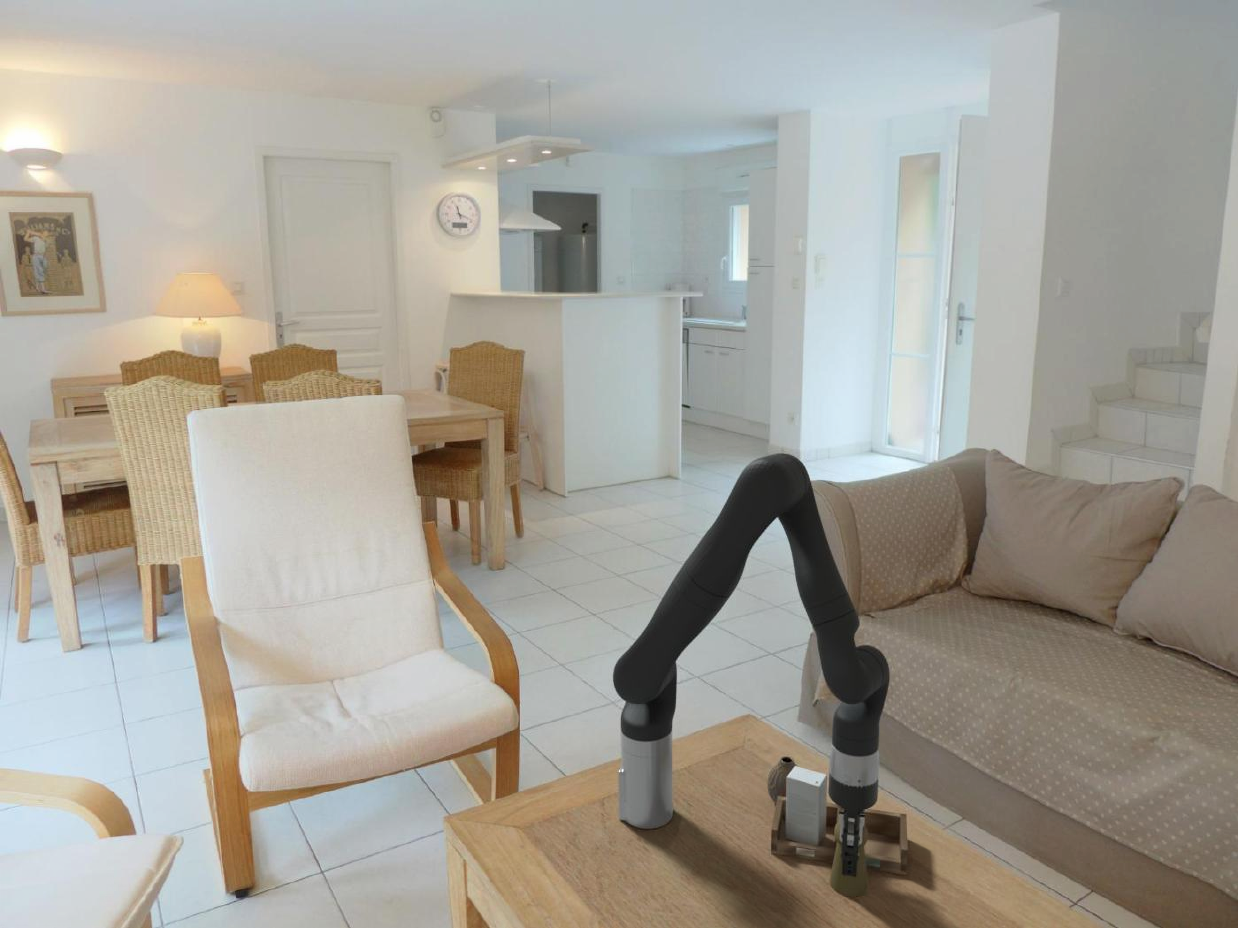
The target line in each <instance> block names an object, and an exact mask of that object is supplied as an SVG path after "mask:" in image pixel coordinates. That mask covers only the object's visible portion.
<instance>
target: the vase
mask: <svg viewBox="0 0 1238 928" xmlns="http://www.w3.org/2000/svg"><path fill="white" fill-rule="evenodd" d="M795 766H797V767H799V766H798V765H797V764H796V762H795V760H794V758H792V757H791V756H786V755H785V756H781V757H780V759H779V761H778V762H777V763H776V764H775V765H774V766H773V767H772V768H771V770H770V771H769V774H768V777H767V793H768V795H769V797H770V799H771V801H772V802H774V804H775V805H776V803H777V798H778V796H782V797H786V777H787V776H788V775H789V773H790V772H791V771H792V769H793V768H794V767H795Z"/></svg>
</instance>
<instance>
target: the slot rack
mask: <svg viewBox="0 0 1238 928" xmlns="http://www.w3.org/2000/svg"><path fill="white" fill-rule="evenodd" d="M839 809H840V806H839V805H837V804H836V803H831V802H830V803H829V802H827V806H826V836H825V838H824V840H823V841H822V843H821V844H820V846H815V845H808V844H802V843H798V842H795V841H792V840H789V839H786V797H782V796H778V798H777V803H776V804H775V810H774V813H773V818H772V819H773V820H772V823H771V824H772V825H771V829H770V830H771V831H770V833H771V835H770V836H771V838H770V854H774V855H779V856H780V855H781V856H786V857H792V858H799V859H805V860H812V861H815V862H816V861H817V862H822V863H823V862H824V863H829V864H833V861H834V856H835V851H836V846H837V841H836V838H835V835H834V830H835V825H836V824H837V823H838V821H839ZM907 818H908V817H907V813H900V812H893V811H887V810H879V809H872V808H868V809H865V822H864V825H865V826H866V828H867V831H868V840H867V842H866V844H865V845H864V850H865V860H866V870H873V871H879V872H886V873H892V874H898V875H904V876H907V870H908V869H907V868H908V855H909V854H908V853H909V846H908V845H909V844H908V843H909V842H908V841H909V840H908V823H907V822H908V821H907V820H908V819H907Z"/></svg>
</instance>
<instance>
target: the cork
mask: <svg viewBox="0 0 1238 928" xmlns="http://www.w3.org/2000/svg"><path fill="white" fill-rule="evenodd" d="M843 832H845V831H844V825H843ZM857 834H859V829H858V833H857ZM834 835H835V838H836V841H837V846H836V851H835V856H834V861H833V863H832V868H831V873H830V878H829V884H830V885H829V886H830V887H831V888H832V889H833V890H834V891H835V892H837V893H838V894H840V895H842V896H845V897H850V898H852V897H853V898H854V897H861V896H863V895H864V894H866V893H867V891H868V889H869V883H868V872H867V870H868V869H866V860H865V850H864V845H865V844H866V842H867V840H868V831H867V828H866V826H865V825H864V826H863V829H862V843H861V844H860V845H859V846H858V853H859V860H858V862H857V872H856V877H853V876H848V875H844V876H843V875H842V861H843V859H842V857H841V850H842V842H841V841H840V839H839V838H840V823H839V821H838V823H837V824H836V825H835V830H834Z"/></svg>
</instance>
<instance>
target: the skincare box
mask: <svg viewBox="0 0 1238 928" xmlns="http://www.w3.org/2000/svg"><path fill="white" fill-rule="evenodd" d="M797 766H798V765H797ZM797 766H795V767H794V768H793V769H792V771H791V772H790V773H789V775H788V776H787V777H786V839H789V840H792V841H795V842H798V843H802V844H808V845H815V846H820V844H821V843H822V841H823V840H824V838H825V836H826V806H827V803H828V802H827V800H828V798H827V797H828V795H827V794H828V774H825V773H822V772H819V771H814V770H810V769H807V768H804V767H799V766H798V767H797Z"/></svg>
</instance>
